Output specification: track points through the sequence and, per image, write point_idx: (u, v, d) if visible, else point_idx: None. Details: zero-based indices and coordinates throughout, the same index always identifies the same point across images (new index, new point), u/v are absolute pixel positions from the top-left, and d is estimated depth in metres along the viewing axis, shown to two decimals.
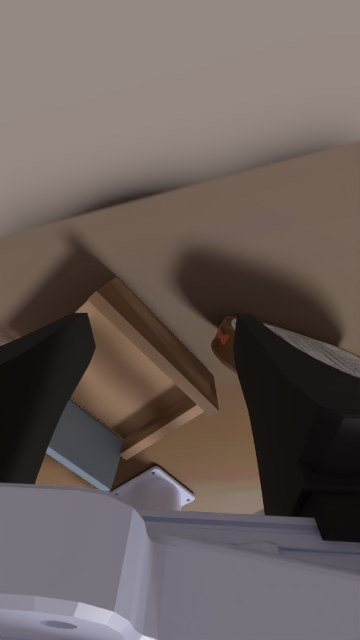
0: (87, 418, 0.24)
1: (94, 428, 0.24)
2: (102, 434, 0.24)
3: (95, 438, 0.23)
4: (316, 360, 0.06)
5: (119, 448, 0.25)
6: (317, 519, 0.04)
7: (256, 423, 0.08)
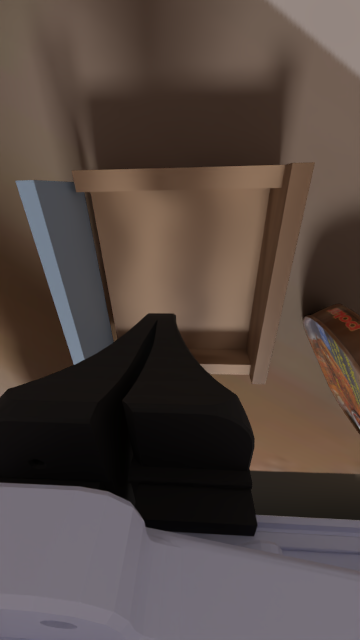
0: (102, 301, 0.18)
1: (103, 317, 0.18)
2: (106, 329, 0.18)
3: (101, 329, 0.17)
4: (191, 358, 0.07)
5: None
6: (137, 509, 0.05)
7: None
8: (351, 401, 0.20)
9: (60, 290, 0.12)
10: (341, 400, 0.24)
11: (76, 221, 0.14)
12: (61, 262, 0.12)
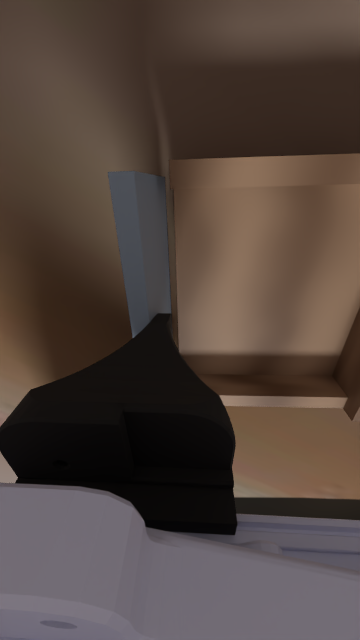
0: None
1: None
2: None
3: None
4: (178, 358, 0.07)
5: None
6: None
7: None
8: None
9: (143, 320, 0.09)
10: None
11: (159, 227, 0.10)
12: (148, 283, 0.09)
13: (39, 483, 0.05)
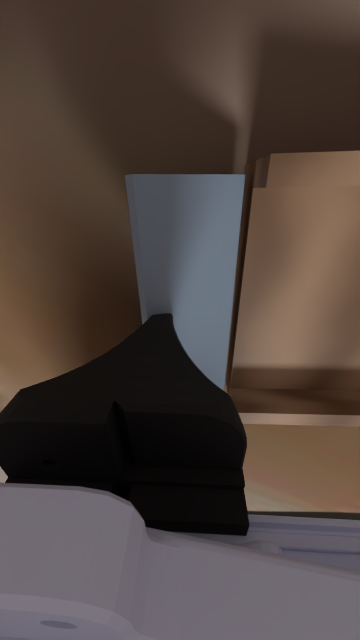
0: (223, 332, 0.13)
1: (215, 351, 0.14)
2: (215, 365, 0.14)
3: (203, 363, 0.14)
4: (186, 358, 0.07)
5: None
6: None
7: None
8: None
9: (144, 307, 0.10)
10: None
11: (206, 228, 0.10)
12: (152, 277, 0.10)
13: (29, 482, 0.05)
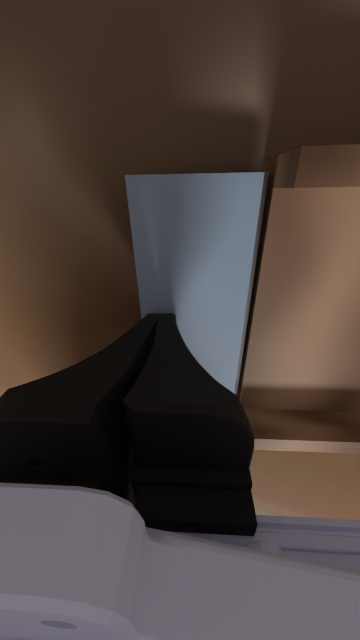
0: (231, 347, 0.12)
1: (221, 365, 0.13)
2: (220, 380, 0.13)
3: None
4: (191, 358, 0.07)
5: None
6: (137, 509, 0.05)
7: None
8: None
9: None
10: None
11: (209, 231, 0.09)
12: (145, 273, 0.10)
13: (16, 482, 0.05)
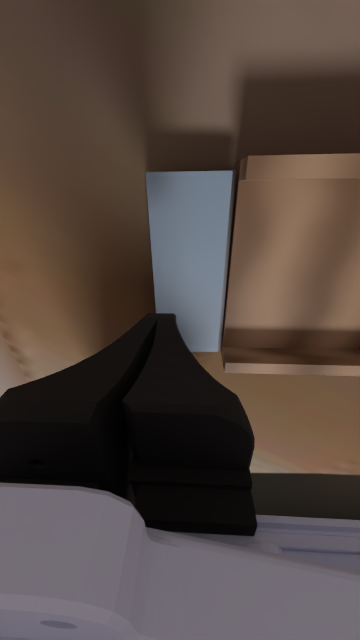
0: (215, 295, 0.17)
1: (208, 309, 0.18)
2: (208, 322, 0.18)
3: (197, 315, 0.18)
4: (191, 358, 0.07)
5: (205, 347, 0.20)
6: (137, 509, 0.05)
7: None
8: None
9: None
10: None
11: (198, 209, 0.14)
12: (156, 237, 0.15)
13: (16, 482, 0.05)
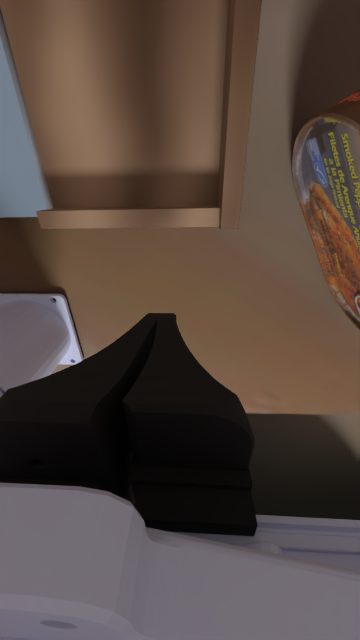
0: (14, 118, 0.13)
1: (14, 143, 0.14)
2: (21, 165, 0.14)
3: (3, 154, 0.14)
4: (191, 358, 0.07)
5: (33, 209, 0.16)
6: (137, 508, 0.05)
7: None
8: (355, 276, 0.15)
9: None
10: (342, 298, 0.19)
11: None
12: None
13: (16, 482, 0.05)
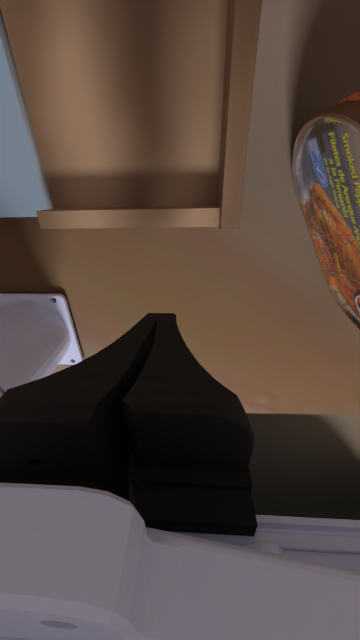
0: (14, 118, 0.13)
1: (14, 143, 0.14)
2: (21, 165, 0.14)
3: (3, 154, 0.14)
4: (191, 358, 0.07)
5: (33, 209, 0.16)
6: (137, 508, 0.05)
7: None
8: (355, 276, 0.15)
9: None
10: (342, 298, 0.19)
11: None
12: None
13: (16, 482, 0.05)
